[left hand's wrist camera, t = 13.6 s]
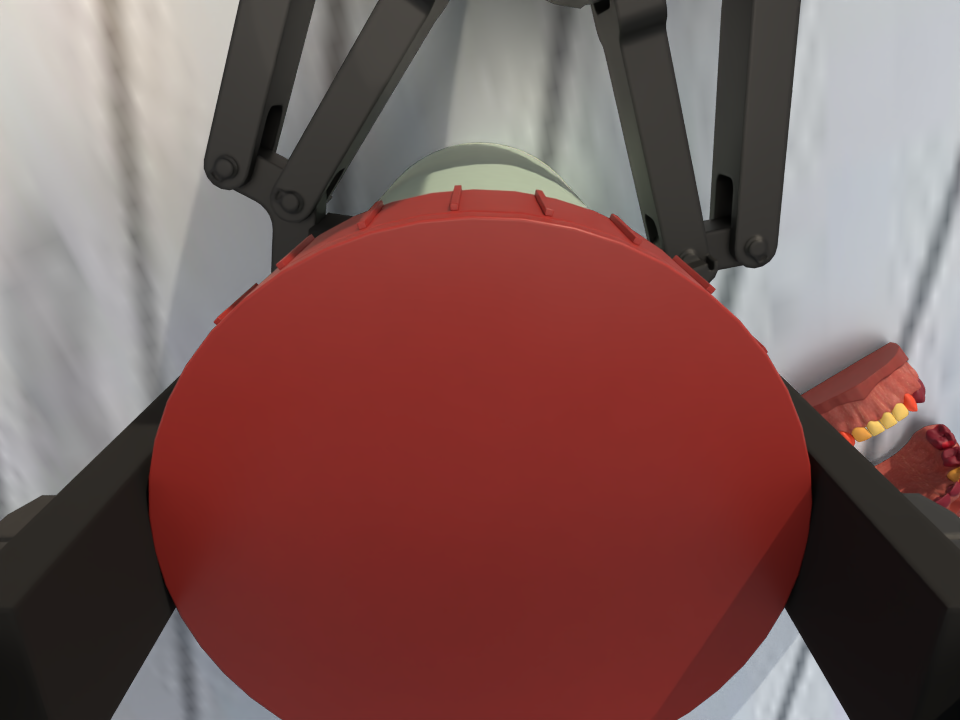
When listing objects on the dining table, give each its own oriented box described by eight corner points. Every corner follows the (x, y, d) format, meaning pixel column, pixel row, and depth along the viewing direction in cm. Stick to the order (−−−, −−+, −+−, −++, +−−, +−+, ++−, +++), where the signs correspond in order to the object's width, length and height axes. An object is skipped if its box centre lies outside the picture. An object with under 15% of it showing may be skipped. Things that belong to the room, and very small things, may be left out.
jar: (627, 193, 26) (880, 380, 10) (537, 387, 29) (613, 782, 13) (412, 105, 25) (279, 145, 8) (342, 316, 28) (143, 651, 12)
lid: (865, 314, 11) (962, 371, 9) (610, 721, 15) (633, 834, 13) (290, 81, 10) (235, 81, 8) (156, 588, 14) (90, 688, 11)
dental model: (942, 356, 24) (1020, 510, 27) (880, 315, 28) (954, 453, 30) (795, 437, 26) (882, 575, 28) (756, 387, 29) (836, 513, 32)
